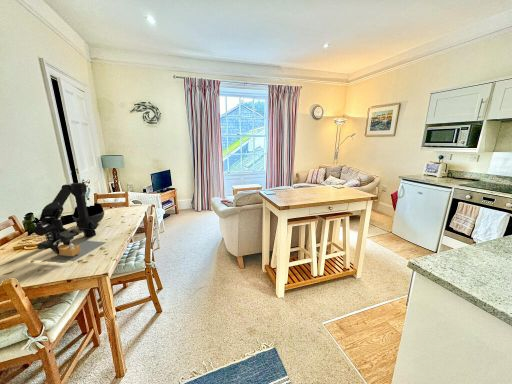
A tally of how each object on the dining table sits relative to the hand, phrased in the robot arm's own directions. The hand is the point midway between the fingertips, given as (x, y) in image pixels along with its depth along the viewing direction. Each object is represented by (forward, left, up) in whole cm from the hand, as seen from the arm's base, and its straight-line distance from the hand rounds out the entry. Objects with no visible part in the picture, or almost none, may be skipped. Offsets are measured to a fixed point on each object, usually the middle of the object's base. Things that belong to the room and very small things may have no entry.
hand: (62, 252), depth 124 cm
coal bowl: (-26, +43, -3) cm, 50 cm away
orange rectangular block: (+4, 0, 0) cm, 4 cm away
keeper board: (+5, +6, -3) cm, 8 cm away
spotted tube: (-20, +12, -3) cm, 23 cm away
